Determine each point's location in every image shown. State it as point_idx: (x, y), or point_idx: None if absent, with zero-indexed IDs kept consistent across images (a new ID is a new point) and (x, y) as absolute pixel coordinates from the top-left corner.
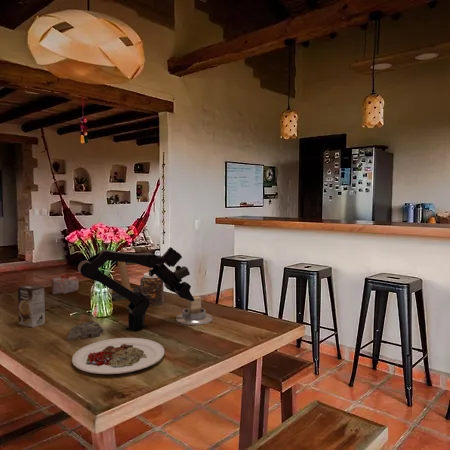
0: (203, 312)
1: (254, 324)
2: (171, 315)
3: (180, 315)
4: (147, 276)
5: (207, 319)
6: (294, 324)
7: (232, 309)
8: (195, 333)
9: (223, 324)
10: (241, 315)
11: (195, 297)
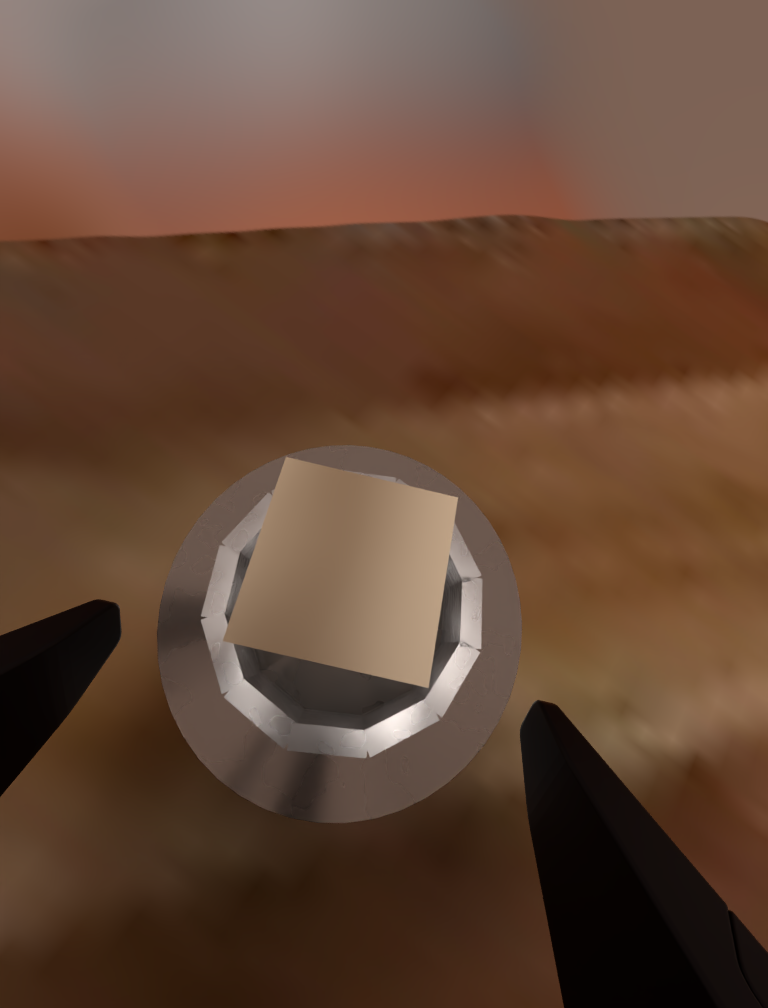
0: (470, 557)
1: (675, 355)
2: (63, 724)
3: (199, 688)
4: None
5: (477, 547)
6: (752, 229)
7: (333, 247)
8: (701, 851)
9: (589, 497)
10: (479, 292)
11: (380, 557)
